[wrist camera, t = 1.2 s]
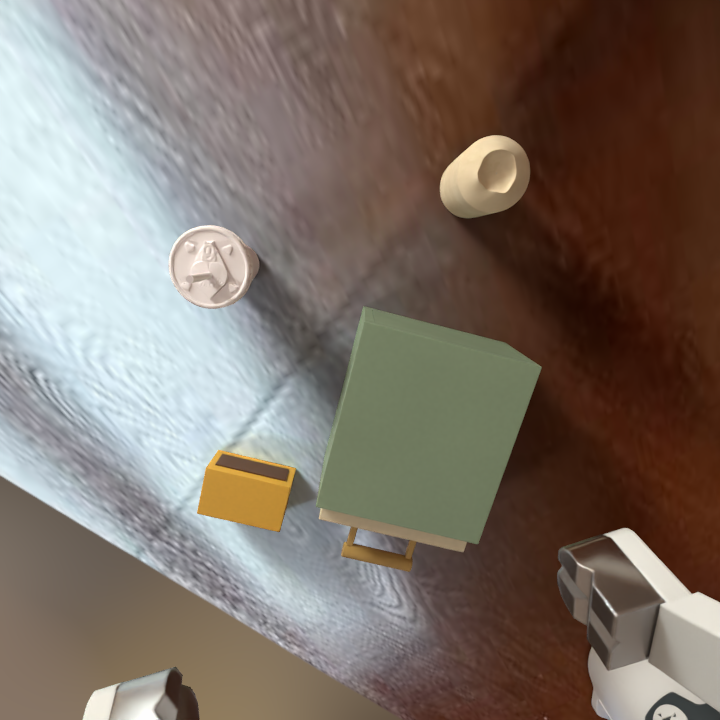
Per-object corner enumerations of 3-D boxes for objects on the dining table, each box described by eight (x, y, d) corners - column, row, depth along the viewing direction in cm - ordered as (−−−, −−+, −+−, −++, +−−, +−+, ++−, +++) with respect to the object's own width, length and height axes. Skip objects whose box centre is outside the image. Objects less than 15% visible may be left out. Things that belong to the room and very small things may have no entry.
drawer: (433, 549, 52) (446, 602, 44) (313, 522, 51) (305, 570, 44) (493, 370, 47) (519, 394, 39) (362, 337, 46) (362, 355, 39)
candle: (502, 210, 44) (542, 201, 35) (445, 224, 45) (468, 219, 35) (492, 149, 43) (531, 121, 33) (433, 164, 44) (455, 141, 34)
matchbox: (296, 466, 51) (291, 486, 47) (285, 511, 52) (279, 533, 48) (218, 448, 50) (206, 466, 46) (209, 493, 51) (196, 515, 47)
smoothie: (208, 295, 46) (144, 315, 33) (206, 227, 45) (139, 219, 31) (273, 298, 46) (237, 319, 33) (273, 231, 45) (235, 224, 31)
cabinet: (456, 489, 51) (478, 544, 42) (324, 457, 50) (315, 507, 41) (505, 342, 47) (542, 366, 38) (363, 306, 47) (364, 321, 37)
